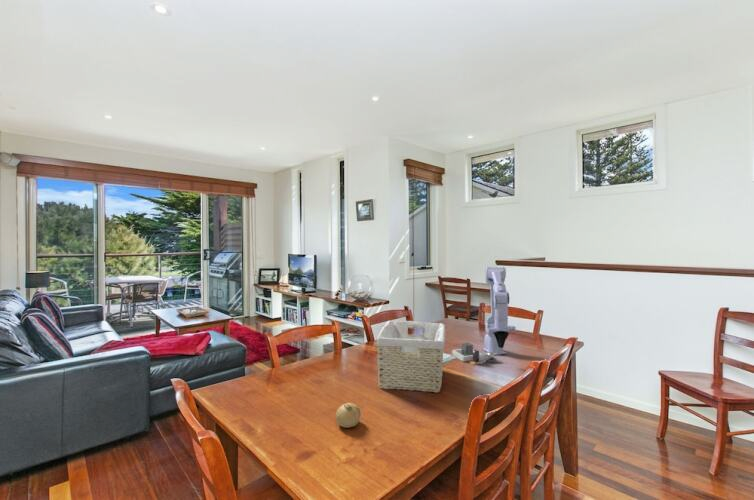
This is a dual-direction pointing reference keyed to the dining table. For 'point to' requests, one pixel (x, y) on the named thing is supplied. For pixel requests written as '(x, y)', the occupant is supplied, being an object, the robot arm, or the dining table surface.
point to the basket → (411, 356)
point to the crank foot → (491, 360)
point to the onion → (348, 415)
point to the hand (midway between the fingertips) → (500, 347)
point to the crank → (482, 356)
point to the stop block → (467, 349)
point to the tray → (463, 358)
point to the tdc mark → (474, 362)
